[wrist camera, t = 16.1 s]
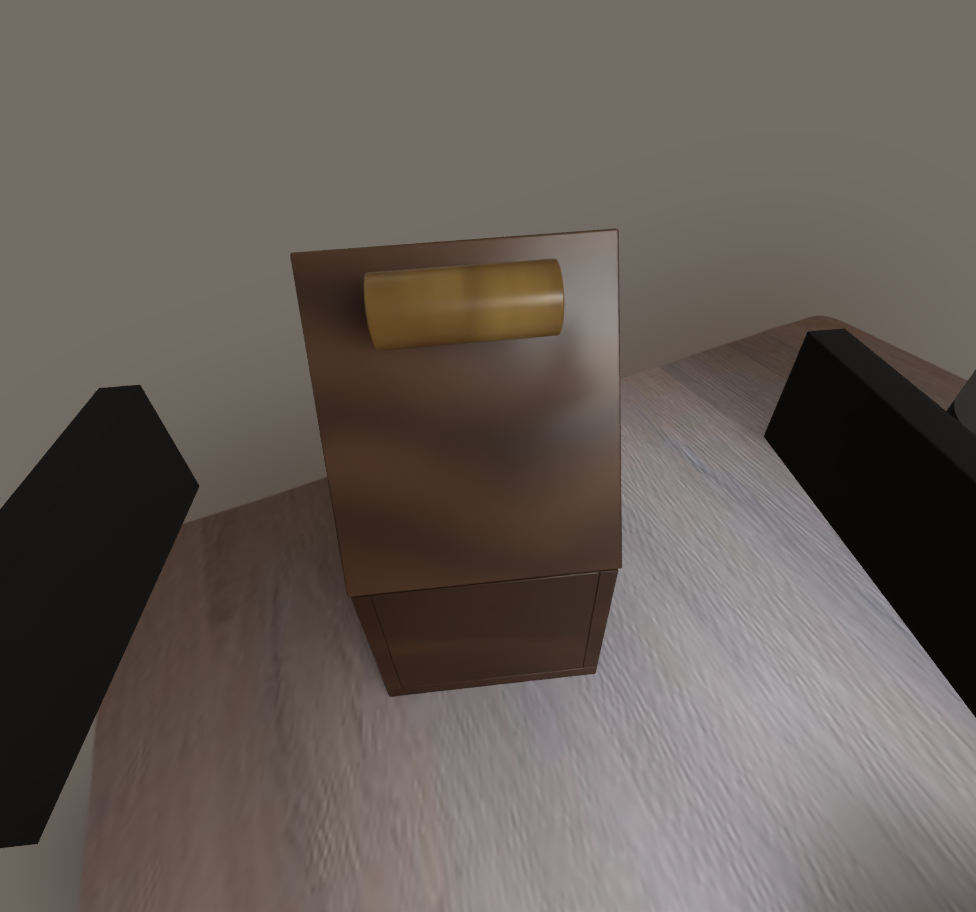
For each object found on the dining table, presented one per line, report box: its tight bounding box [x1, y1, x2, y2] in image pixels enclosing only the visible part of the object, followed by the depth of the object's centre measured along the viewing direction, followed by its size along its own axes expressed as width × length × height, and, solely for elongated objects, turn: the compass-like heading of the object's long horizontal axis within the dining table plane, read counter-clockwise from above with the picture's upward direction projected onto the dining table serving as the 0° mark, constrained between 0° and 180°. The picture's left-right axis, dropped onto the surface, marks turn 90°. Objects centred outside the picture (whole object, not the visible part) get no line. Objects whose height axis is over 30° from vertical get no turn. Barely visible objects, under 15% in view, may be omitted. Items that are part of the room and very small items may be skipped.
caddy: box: [351, 569, 618, 697], centre depth 33 cm, size 14×13×11 cm
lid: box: [290, 229, 622, 597], centre depth 20 cm, size 15×13×6 cm
